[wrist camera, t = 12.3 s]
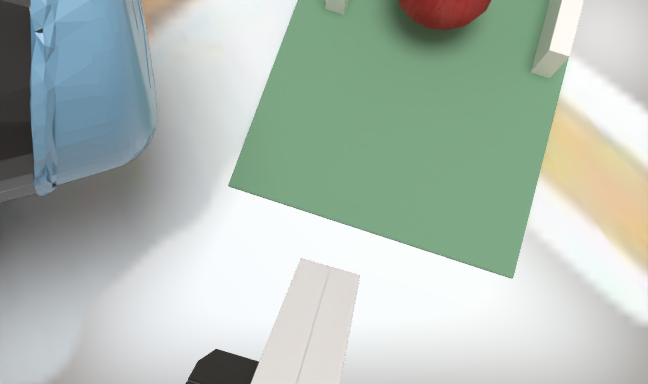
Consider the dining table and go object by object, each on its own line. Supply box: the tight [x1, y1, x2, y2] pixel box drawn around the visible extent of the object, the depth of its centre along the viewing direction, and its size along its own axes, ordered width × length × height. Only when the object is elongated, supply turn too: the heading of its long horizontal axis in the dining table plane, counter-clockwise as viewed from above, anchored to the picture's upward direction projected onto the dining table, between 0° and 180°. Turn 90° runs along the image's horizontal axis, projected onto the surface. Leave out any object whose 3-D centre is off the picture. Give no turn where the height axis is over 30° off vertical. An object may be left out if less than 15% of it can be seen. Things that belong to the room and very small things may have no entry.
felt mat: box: [229, 0, 568, 278], centre depth 38 cm, size 17×23×1 cm
